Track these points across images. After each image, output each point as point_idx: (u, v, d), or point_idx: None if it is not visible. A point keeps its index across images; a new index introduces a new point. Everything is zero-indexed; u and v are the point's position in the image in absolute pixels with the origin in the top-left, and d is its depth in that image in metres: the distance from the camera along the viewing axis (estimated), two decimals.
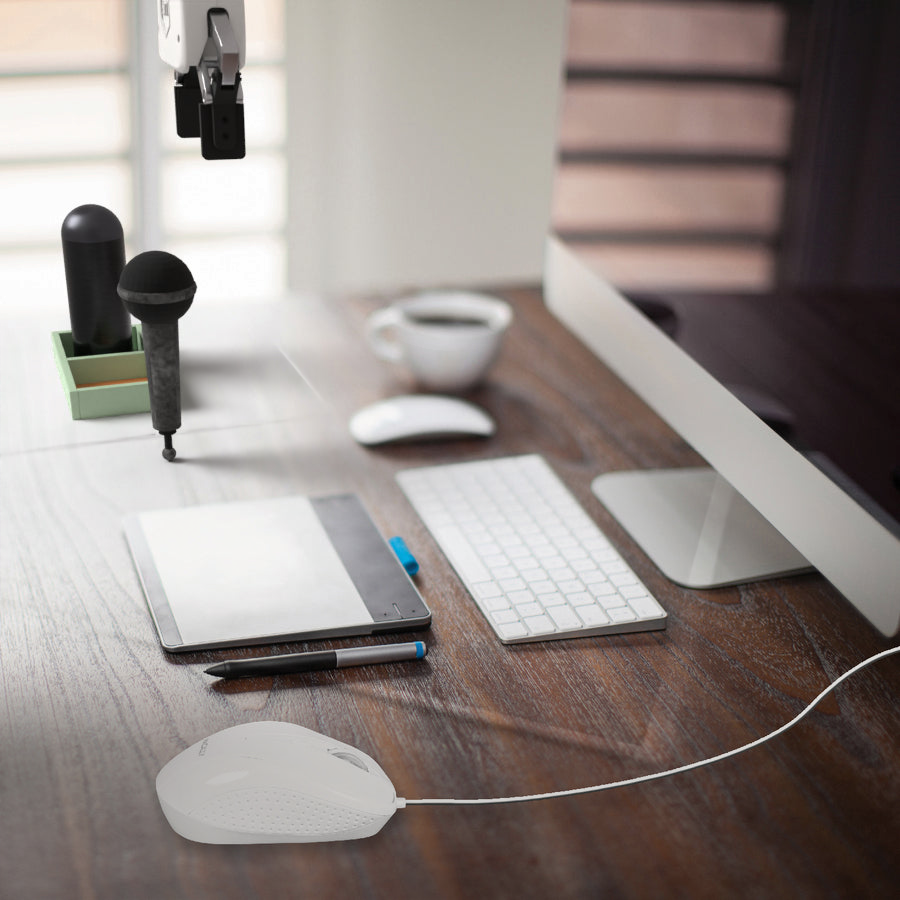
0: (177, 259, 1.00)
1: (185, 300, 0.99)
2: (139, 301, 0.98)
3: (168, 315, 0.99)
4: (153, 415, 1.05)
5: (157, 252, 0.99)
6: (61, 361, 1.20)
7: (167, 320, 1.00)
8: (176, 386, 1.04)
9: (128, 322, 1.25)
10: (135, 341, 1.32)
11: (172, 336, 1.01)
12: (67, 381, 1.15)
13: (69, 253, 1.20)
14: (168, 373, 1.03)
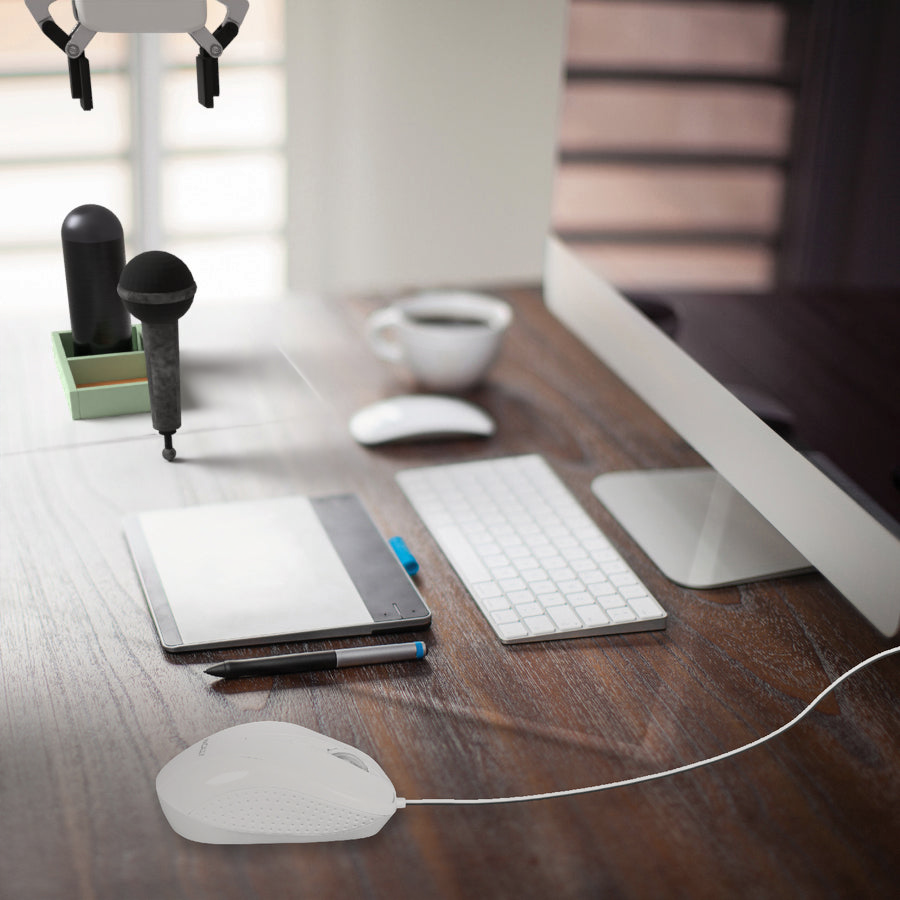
0: (177, 259, 1.00)
1: (185, 300, 0.99)
2: (139, 301, 0.98)
3: (168, 315, 0.99)
4: (153, 415, 1.05)
5: (157, 252, 0.99)
6: (61, 361, 1.20)
7: (167, 320, 1.00)
8: (176, 386, 1.04)
9: (128, 322, 1.25)
10: (135, 341, 1.32)
11: (172, 336, 1.01)
12: (67, 381, 1.15)
13: (69, 253, 1.20)
14: (168, 373, 1.03)
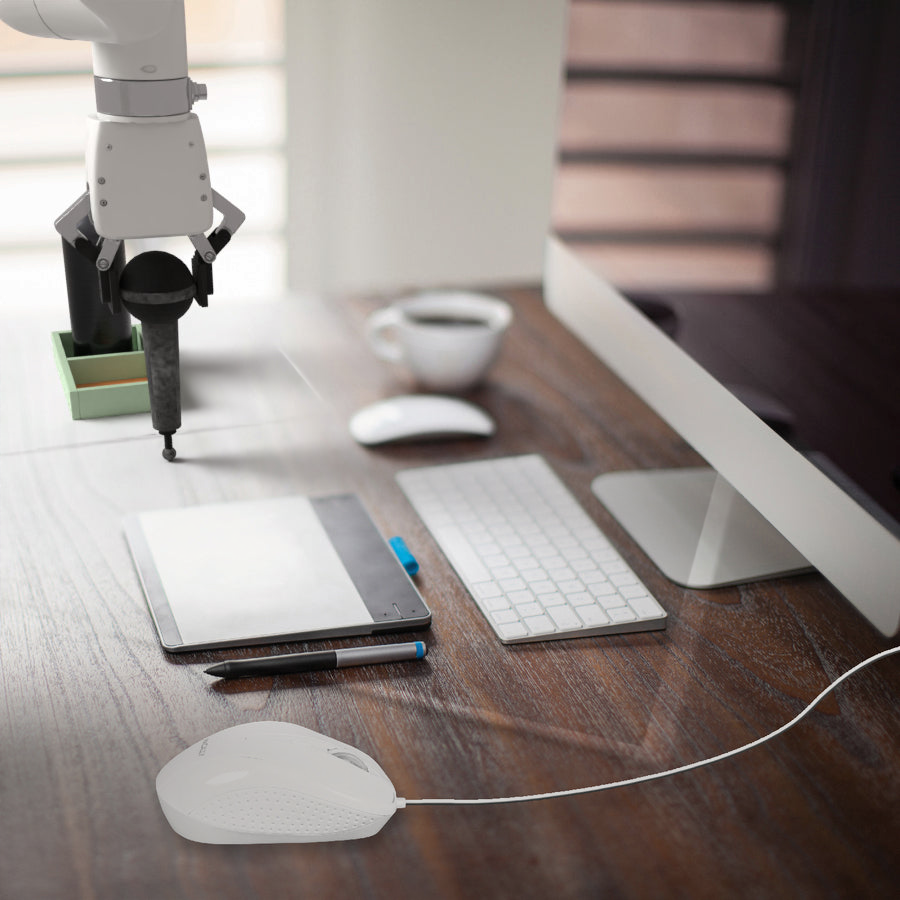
0: (177, 259, 1.00)
1: (185, 300, 0.99)
2: (138, 301, 0.98)
3: (168, 315, 0.99)
4: (153, 415, 1.05)
5: (157, 252, 0.99)
6: (61, 361, 1.20)
7: (167, 320, 1.00)
8: (176, 386, 1.04)
9: (128, 322, 1.25)
10: (135, 341, 1.32)
11: (172, 336, 1.01)
12: (67, 381, 1.15)
13: (69, 253, 1.20)
14: (168, 373, 1.03)
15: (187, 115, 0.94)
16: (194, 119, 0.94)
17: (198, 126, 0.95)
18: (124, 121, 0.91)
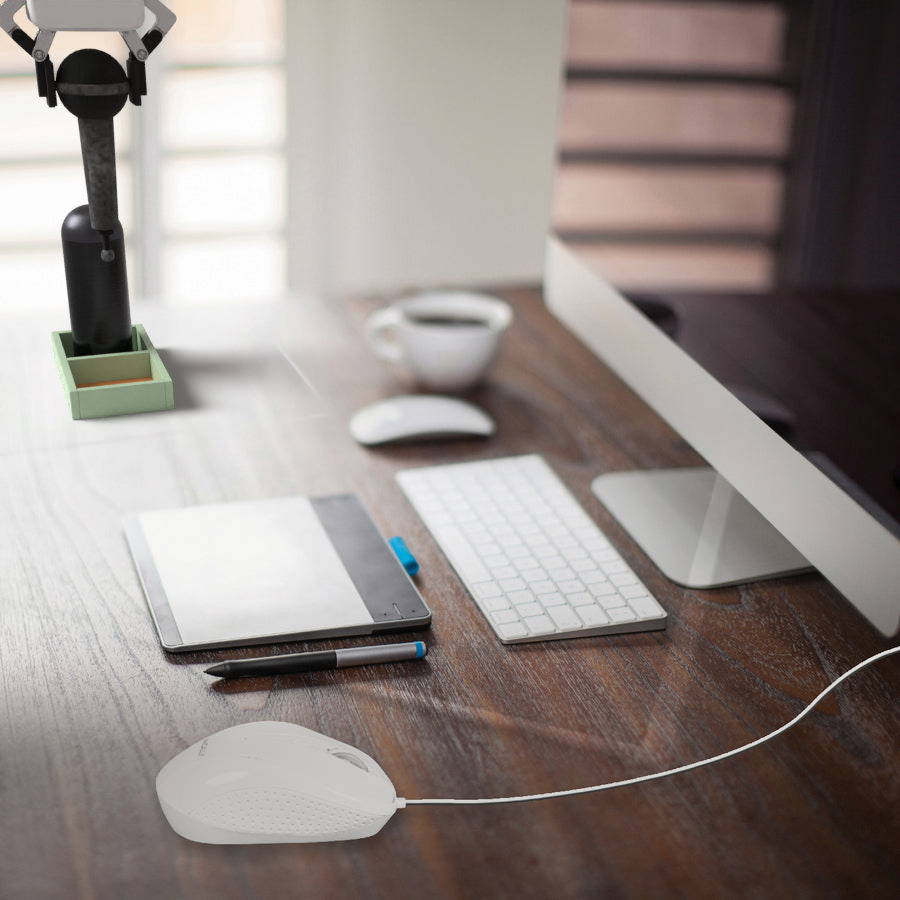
0: (111, 56, 1.05)
1: (118, 95, 1.05)
2: (73, 93, 1.03)
3: (102, 109, 1.05)
4: (91, 214, 1.10)
5: (91, 49, 1.04)
6: (61, 361, 1.20)
7: (102, 115, 1.05)
8: (112, 185, 1.09)
9: (128, 322, 1.25)
10: (135, 341, 1.32)
11: (107, 133, 1.07)
12: (67, 381, 1.15)
13: (69, 253, 1.20)
14: (104, 170, 1.08)
15: None
16: None
17: None
18: None
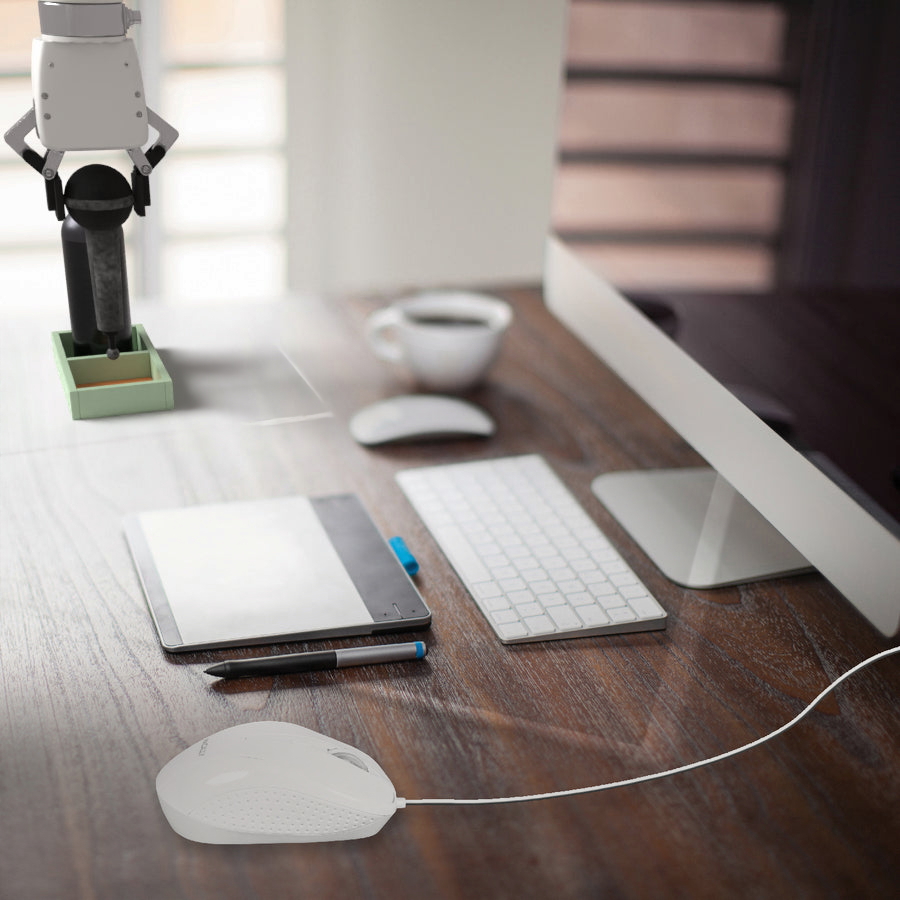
0: (116, 171, 1.10)
1: (123, 208, 1.10)
2: (81, 208, 1.09)
3: (108, 221, 1.10)
4: (97, 316, 1.15)
5: (98, 165, 1.10)
6: (61, 361, 1.20)
7: (108, 226, 1.11)
8: (117, 290, 1.15)
9: (128, 322, 1.25)
10: (135, 341, 1.32)
11: (112, 242, 1.12)
12: (67, 381, 1.15)
13: (69, 253, 1.20)
14: (110, 277, 1.13)
15: (122, 38, 1.05)
16: (129, 41, 1.05)
17: (133, 48, 1.06)
18: (64, 41, 1.02)
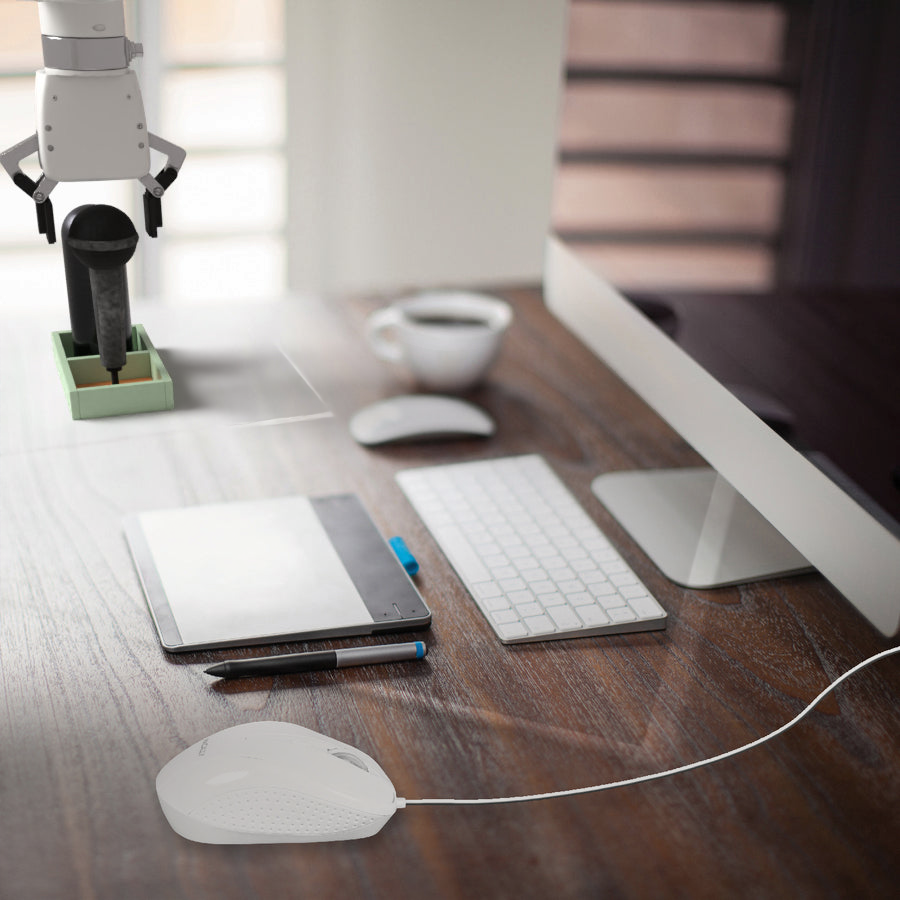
0: (120, 212, 1.12)
1: (127, 248, 1.12)
2: (85, 248, 1.10)
3: (112, 261, 1.12)
4: (100, 353, 1.17)
5: (102, 205, 1.11)
6: (61, 361, 1.20)
7: (112, 266, 1.12)
8: (121, 327, 1.16)
9: (128, 322, 1.25)
10: (135, 341, 1.32)
11: (116, 281, 1.14)
12: (67, 381, 1.15)
13: (69, 253, 1.20)
14: (113, 315, 1.15)
15: (125, 70, 1.06)
16: (131, 74, 1.06)
17: (135, 80, 1.07)
18: (67, 74, 1.03)
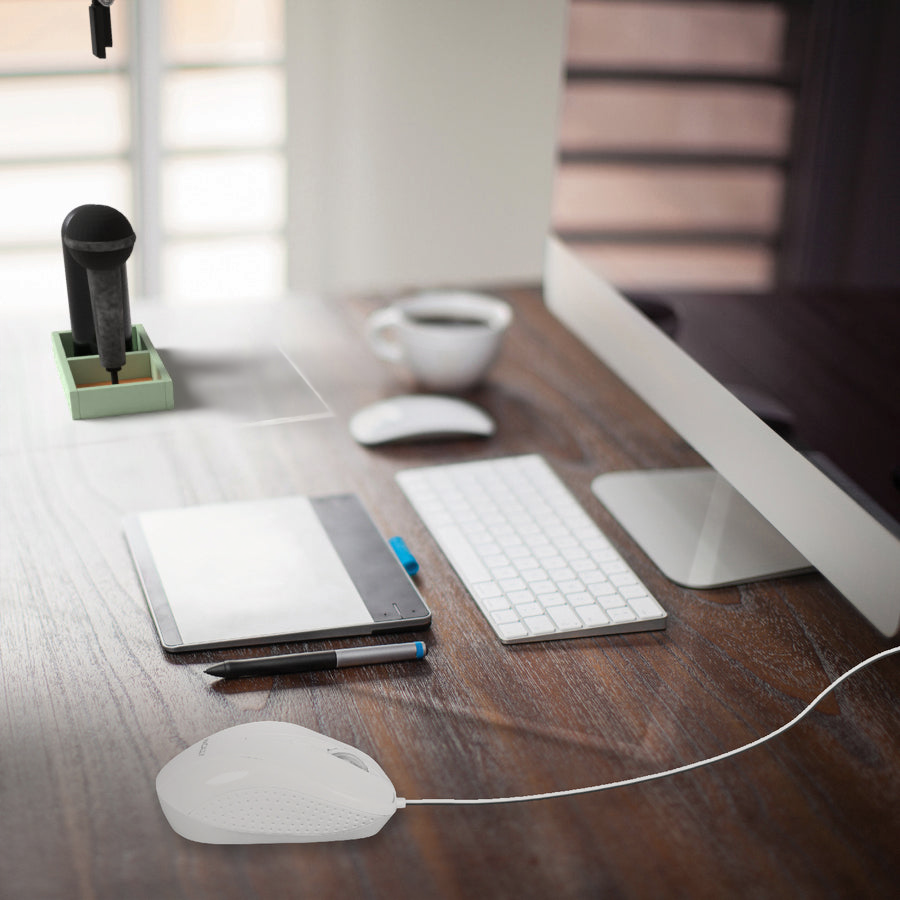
0: (117, 212, 1.12)
1: (125, 248, 1.11)
2: (82, 249, 1.10)
3: (109, 262, 1.11)
4: (100, 353, 1.17)
5: (99, 206, 1.11)
6: (61, 361, 1.20)
7: (109, 267, 1.12)
8: (119, 327, 1.16)
9: (128, 322, 1.25)
10: (135, 341, 1.32)
11: (114, 281, 1.14)
12: (67, 381, 1.15)
13: (69, 253, 1.20)
14: (112, 315, 1.15)
15: None
16: None
17: None
18: None
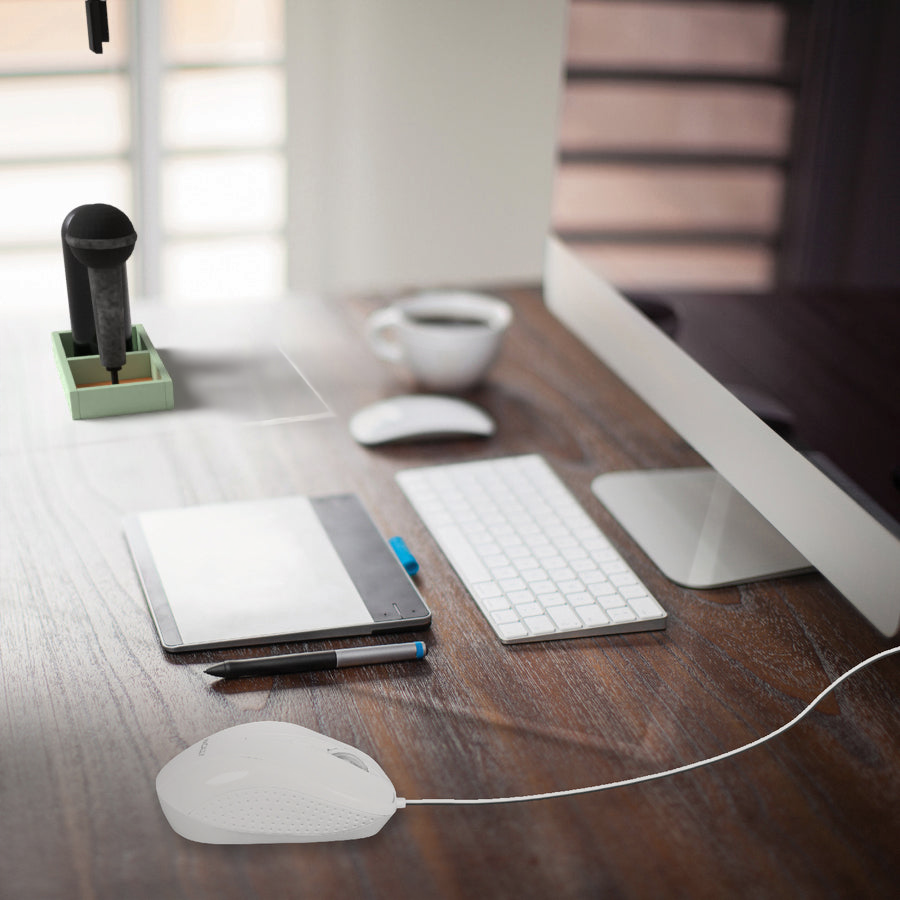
0: (119, 210, 1.12)
1: (126, 246, 1.12)
2: (84, 247, 1.10)
3: (111, 260, 1.12)
4: (100, 353, 1.17)
5: (101, 204, 1.12)
6: (61, 361, 1.20)
7: (110, 265, 1.12)
8: (120, 326, 1.16)
9: (128, 322, 1.25)
10: (135, 341, 1.32)
11: (115, 280, 1.14)
12: (67, 381, 1.15)
13: (69, 253, 1.20)
14: (112, 314, 1.15)
15: None
16: None
17: None
18: None
